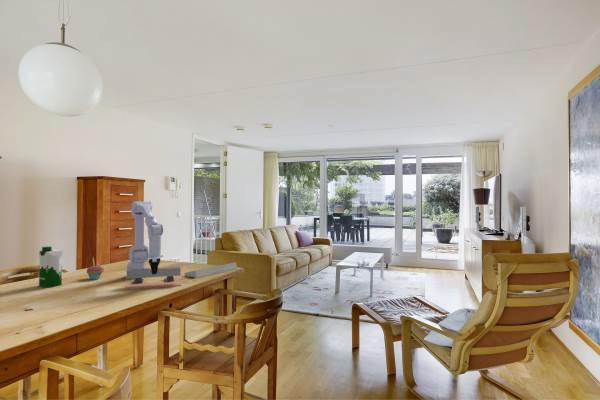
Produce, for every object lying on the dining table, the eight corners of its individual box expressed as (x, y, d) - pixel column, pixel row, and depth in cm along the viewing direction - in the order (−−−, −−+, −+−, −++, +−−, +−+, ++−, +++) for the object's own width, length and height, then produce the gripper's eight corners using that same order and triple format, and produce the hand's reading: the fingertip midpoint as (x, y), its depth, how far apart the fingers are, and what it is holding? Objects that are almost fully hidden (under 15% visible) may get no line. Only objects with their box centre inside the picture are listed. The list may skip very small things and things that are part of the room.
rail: (126, 278, 178) (126, 270, 178) (127, 277, 182) (127, 269, 182) (180, 275, 187) (180, 268, 187) (180, 273, 191) (180, 266, 191)
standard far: (165, 282, 191) (166, 273, 191) (165, 278, 201) (165, 269, 201) (174, 282, 192) (174, 273, 192) (173, 277, 202) (174, 269, 202)
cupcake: (82, 279, 194) (83, 257, 194) (96, 276, 202) (97, 255, 202) (93, 280, 191) (93, 259, 191) (107, 277, 199) (107, 256, 199)
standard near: (133, 284, 185) (133, 275, 185) (135, 280, 195) (135, 271, 195) (142, 284, 186) (142, 274, 186) (143, 279, 197) (143, 270, 197)
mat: (124, 289, 175) (124, 288, 175) (126, 285, 184) (126, 284, 184) (181, 285, 185) (181, 284, 185) (180, 281, 194) (180, 281, 194)
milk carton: (35, 286, 177) (36, 246, 177) (54, 282, 185) (55, 245, 185) (46, 288, 173) (47, 248, 173) (64, 284, 182) (65, 246, 182)
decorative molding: (185, 280, 208) (196, 278, 203) (184, 272, 209) (195, 270, 204) (226, 271, 237) (237, 269, 232) (225, 264, 238) (235, 262, 233)
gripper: (163, 249, 179) (162, 275, 179) (163, 245, 193) (162, 270, 193) (148, 249, 177) (147, 276, 177) (149, 245, 190) (148, 270, 190)
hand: (154, 273), depth 184 cm, fingers closed on rail, 4 cm apart
